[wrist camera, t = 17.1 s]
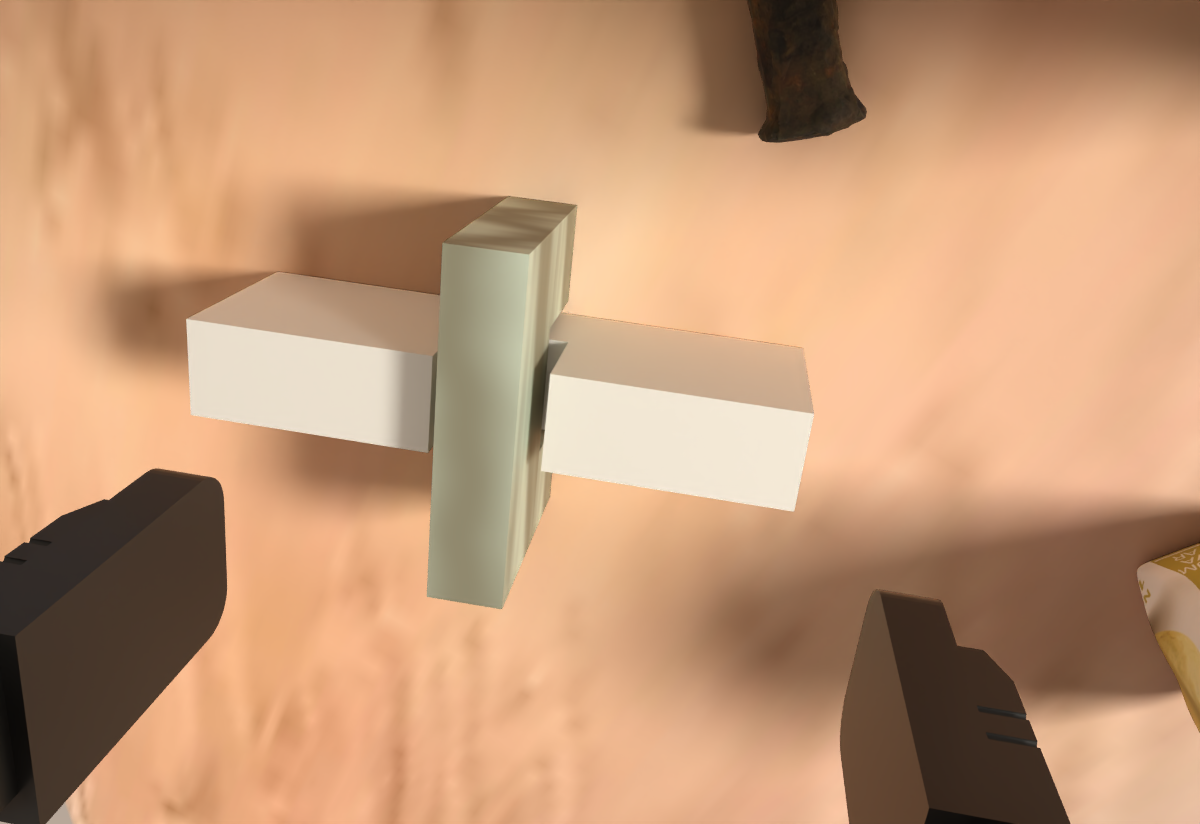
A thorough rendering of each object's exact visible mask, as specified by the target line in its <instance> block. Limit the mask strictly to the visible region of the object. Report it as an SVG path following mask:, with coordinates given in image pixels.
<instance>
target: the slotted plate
mask: <svg viewBox="0 0 1200 824" xmlns="http://www.w3.org/2000/svg"><path fill="white" fill-rule="evenodd" d="M576 212H577V205H572V204H564V203H557V202H549V201H541V200H534V199H526V198H518V197H510V196H508V197H507V198H506V199H504V200H503V201H501V202H500V203H498V204H497V205H496V206H494V207H493V208H491V209H490V210H488V211H487V212H486V213H484V214H483V215H481V216H480V217H479V218H477V219H476V220H474V221H473V222H471V223H470V224H469V225H467V226H466V227H464V228H463V229H462V230H460V231H459V232H457V233H456V234H454V235H453V236H452V237H450V238H449V239H447V240H446V241H444V242H443V243H442V265H441V287H440V310H439V333H438V355H437V378H436V401H435V423H434V446H433V469H432V491H431V514H430V537H429V559H428V582H427V597H432V598H438V599H444V600H450V601H456V602H462V603H468V604H473V605H479V606H485V607H491V608H497V609H502V608H503V606H504V603H505V601H506V599H507V596H508V594H509V591H510V589H511V587H512V584H513V582H514V580H515V577H516V575H517V573H518V570H519V568H520V566H521V563H522V561H523V559H524V556H525V554H526V552H527V549H528V547H529V544H530V542H531V540H532V537H533V535H534V533H535V530H536V528H537V526H538V523H539V521H540V519H541V516H542V514H543V512H544V509H545V507H546V505H547V502H548V500H549V498H550V490H551V479H552V473H550V472H544V471H541V465H542V455H543V444H544V434H545V430H543V429H541V428H542V416H543V405H544V393H545V382H546V371H547V359H548V348H549V336H550V328H551V326H552V325H553V323H554V322H555V320H556V319H557V317H558V316H559V314H560V313H561V311H562V310H563V308H564V307H565V305H566V303H567V302H568V298H569V287H570V276H571V266H572V255H573V244H574V234H575V223H576Z"/></svg>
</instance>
